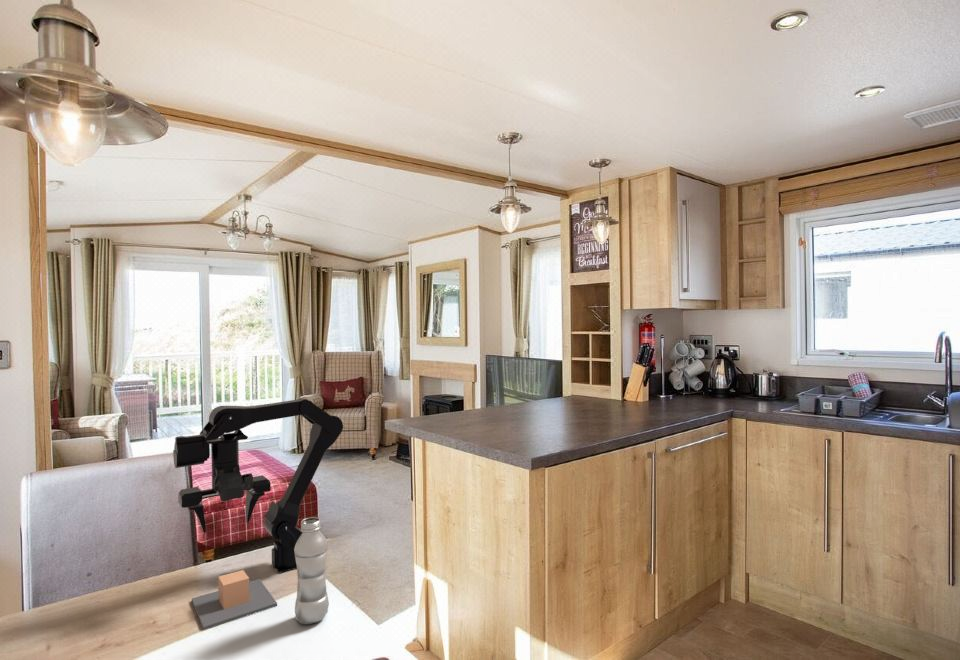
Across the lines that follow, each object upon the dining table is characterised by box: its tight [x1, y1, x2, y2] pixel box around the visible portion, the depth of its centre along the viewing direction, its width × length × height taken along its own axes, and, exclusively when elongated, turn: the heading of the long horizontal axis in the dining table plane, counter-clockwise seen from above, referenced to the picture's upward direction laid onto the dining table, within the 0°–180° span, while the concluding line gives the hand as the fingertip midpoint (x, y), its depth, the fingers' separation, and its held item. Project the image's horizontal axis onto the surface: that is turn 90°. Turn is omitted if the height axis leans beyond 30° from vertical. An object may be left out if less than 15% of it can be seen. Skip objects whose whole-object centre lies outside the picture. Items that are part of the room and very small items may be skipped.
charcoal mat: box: [191, 578, 278, 631], centre depth 111 cm, size 14×14×1 cm
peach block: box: [217, 569, 250, 609], centre depth 111 cm, size 5×5×5 cm
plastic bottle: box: [294, 516, 330, 625], centre depth 105 cm, size 6×7×20 cm
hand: (226, 527), depth 121 cm, fingers open, 9 cm apart
